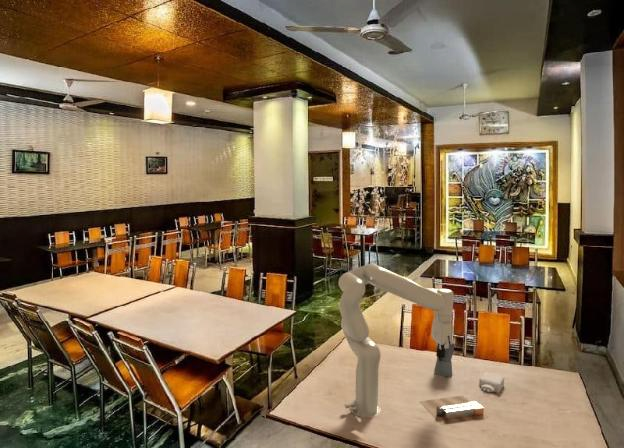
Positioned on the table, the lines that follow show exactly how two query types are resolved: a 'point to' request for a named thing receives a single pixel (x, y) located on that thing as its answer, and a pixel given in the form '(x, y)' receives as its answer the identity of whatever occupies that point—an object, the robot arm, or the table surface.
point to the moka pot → (445, 362)
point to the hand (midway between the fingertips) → (440, 357)
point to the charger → (491, 382)
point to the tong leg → (453, 407)
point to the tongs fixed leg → (464, 412)
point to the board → (433, 404)
